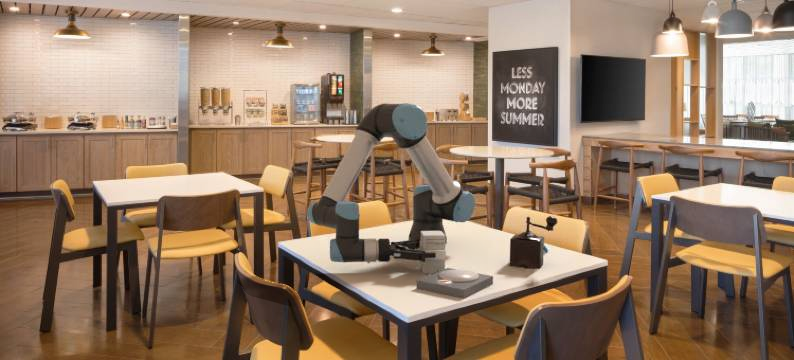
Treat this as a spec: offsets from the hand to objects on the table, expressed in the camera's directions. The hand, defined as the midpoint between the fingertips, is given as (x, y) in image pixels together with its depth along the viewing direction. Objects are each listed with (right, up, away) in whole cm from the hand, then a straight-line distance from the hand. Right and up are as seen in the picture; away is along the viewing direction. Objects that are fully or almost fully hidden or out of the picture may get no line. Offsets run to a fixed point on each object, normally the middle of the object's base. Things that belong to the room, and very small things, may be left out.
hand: (442, 249), depth 205 cm
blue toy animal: (+38, -4, +30) cm, 49 cm away
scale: (+3, -9, -17) cm, 19 cm away
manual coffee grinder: (+32, -7, +9) cm, 34 cm away
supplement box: (-3, -7, +1) cm, 8 cm away
